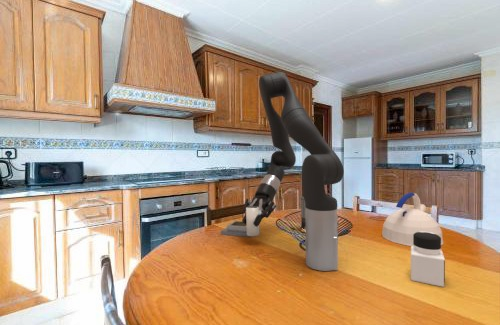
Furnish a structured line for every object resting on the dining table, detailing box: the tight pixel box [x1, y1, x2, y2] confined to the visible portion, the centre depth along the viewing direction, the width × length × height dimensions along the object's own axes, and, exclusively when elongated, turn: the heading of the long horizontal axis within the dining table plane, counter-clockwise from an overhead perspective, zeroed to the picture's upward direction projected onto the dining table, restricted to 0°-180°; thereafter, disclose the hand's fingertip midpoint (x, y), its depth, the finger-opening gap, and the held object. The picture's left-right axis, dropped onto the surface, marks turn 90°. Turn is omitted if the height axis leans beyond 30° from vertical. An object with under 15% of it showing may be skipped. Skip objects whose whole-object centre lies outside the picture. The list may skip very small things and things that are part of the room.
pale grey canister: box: [246, 206, 260, 237], centre depth 97 cm, size 5×5×10 cm
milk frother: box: [299, 196, 339, 229], centre depth 113 cm, size 14×16×15 cm
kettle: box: [381, 192, 444, 247], centre depth 101 cm, size 20×21×18 cm
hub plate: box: [220, 220, 252, 238], centre depth 113 cm, size 13×12×4 cm
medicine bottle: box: [410, 232, 446, 288], centre depth 68 cm, size 7×7×12 cm
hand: (249, 224), depth 95 cm, fingers closed on pale grey canister, 4 cm apart
